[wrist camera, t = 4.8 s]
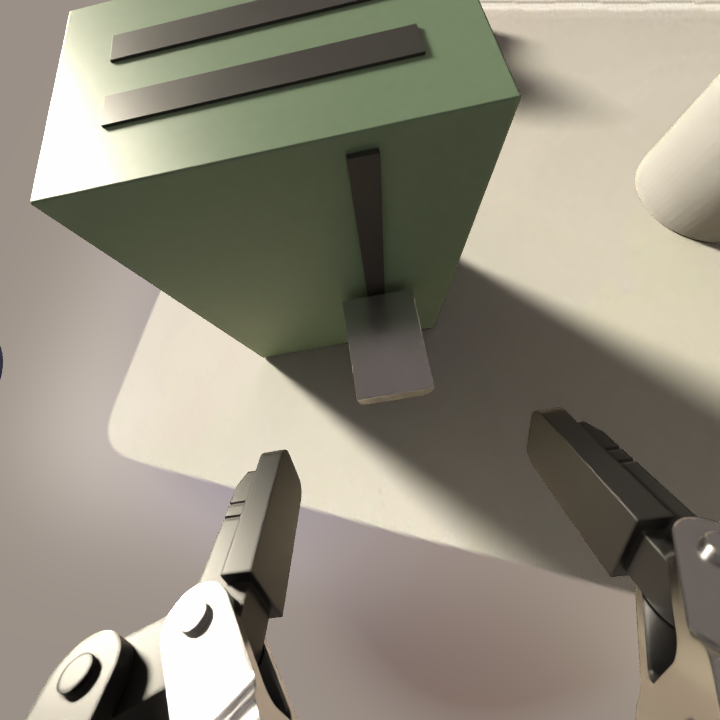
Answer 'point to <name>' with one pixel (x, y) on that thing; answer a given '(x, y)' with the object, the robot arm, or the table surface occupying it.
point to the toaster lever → (387, 347)
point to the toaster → (277, 152)
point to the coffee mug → (687, 171)
